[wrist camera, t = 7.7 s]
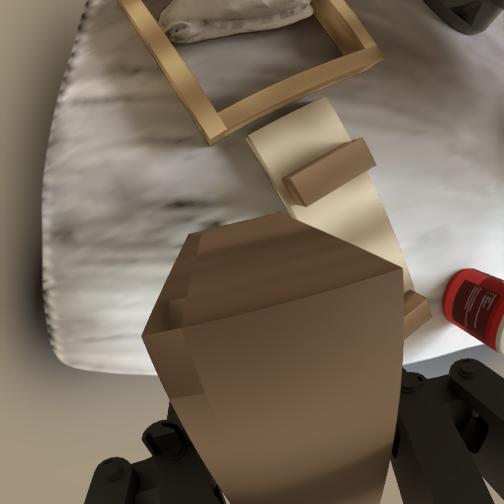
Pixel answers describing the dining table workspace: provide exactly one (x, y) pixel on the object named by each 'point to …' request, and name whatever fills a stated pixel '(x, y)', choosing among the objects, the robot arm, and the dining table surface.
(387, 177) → the dining table surface
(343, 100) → the dining table surface
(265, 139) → the ledge
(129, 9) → the shell cradle
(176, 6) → the seashell
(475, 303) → the canned food
